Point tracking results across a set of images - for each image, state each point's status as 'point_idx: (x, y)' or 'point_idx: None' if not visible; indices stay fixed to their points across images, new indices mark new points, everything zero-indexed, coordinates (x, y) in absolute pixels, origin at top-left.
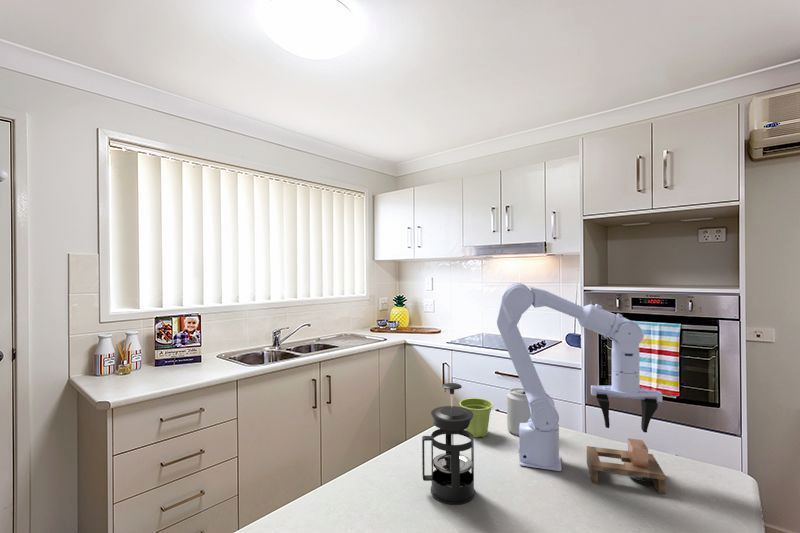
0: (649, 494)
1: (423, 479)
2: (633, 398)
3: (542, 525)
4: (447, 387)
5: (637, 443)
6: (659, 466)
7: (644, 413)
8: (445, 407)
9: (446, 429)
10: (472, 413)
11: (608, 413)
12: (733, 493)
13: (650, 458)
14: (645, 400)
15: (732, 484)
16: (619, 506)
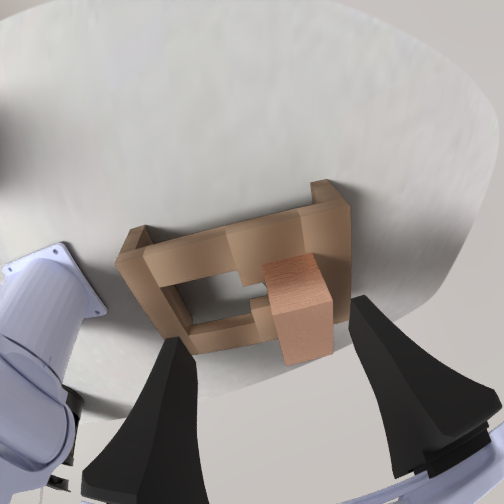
0: None
1: None
2: (352, 500)
3: None
4: None
5: (306, 335)
6: (350, 284)
7: (385, 411)
8: None
9: (60, 478)
10: (54, 486)
11: (195, 440)
12: (461, 208)
13: (336, 247)
14: (415, 474)
15: (476, 166)
16: (244, 357)
